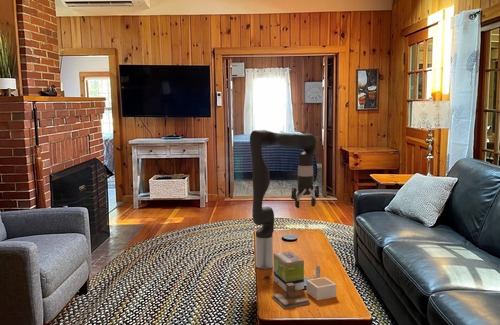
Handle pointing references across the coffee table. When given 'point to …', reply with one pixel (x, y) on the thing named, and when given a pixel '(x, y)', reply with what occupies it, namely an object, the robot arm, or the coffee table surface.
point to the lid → (290, 296)
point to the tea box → (288, 270)
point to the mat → (289, 306)
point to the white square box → (321, 288)
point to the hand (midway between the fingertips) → (305, 207)
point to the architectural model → (317, 271)
